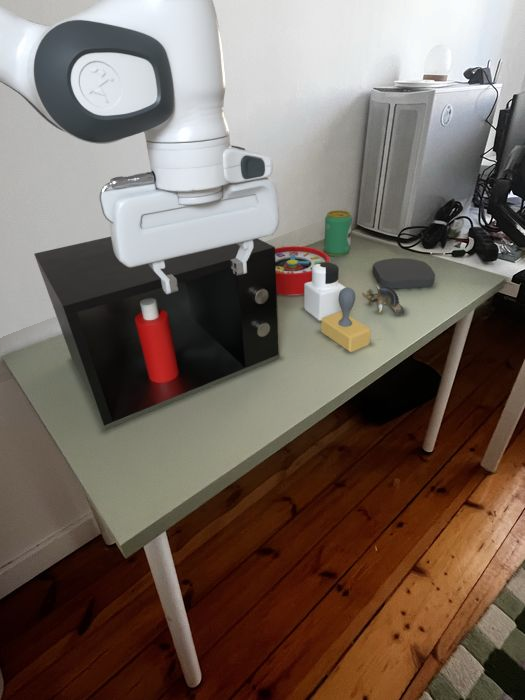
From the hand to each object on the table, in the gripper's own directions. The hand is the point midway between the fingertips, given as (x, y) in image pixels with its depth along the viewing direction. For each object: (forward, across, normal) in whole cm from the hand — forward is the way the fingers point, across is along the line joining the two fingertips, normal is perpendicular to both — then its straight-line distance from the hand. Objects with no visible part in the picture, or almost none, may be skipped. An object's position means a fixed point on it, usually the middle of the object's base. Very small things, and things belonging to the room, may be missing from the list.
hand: (206, 282), depth 55 cm
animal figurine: (+28, +51, +19) cm, 61 cm away
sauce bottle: (+27, -3, +22) cm, 35 cm away
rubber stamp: (+28, +36, +14) cm, 48 cm away
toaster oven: (+28, +1, +27) cm, 39 cm away
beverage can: (+28, +65, +56) cm, 90 cm away
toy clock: (+28, +43, +47) cm, 69 cm away
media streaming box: (+28, +68, +30) cm, 79 cm away
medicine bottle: (+28, +39, +26) cm, 55 cm away
